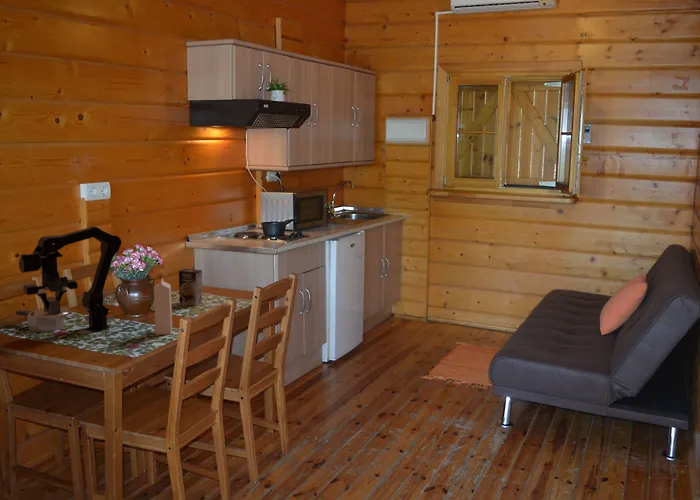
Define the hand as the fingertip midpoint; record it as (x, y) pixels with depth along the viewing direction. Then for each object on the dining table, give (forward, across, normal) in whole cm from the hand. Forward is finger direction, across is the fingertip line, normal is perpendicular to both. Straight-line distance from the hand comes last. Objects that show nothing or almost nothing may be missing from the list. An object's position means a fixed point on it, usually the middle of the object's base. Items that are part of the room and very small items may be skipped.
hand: (52, 308), depth 262 cm
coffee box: (+12, +67, +14) cm, 69 cm away
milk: (+12, +36, -21) cm, 43 cm away
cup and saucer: (+3, 0, 0) cm, 3 cm away
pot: (+12, 0, +20) cm, 23 cm away
